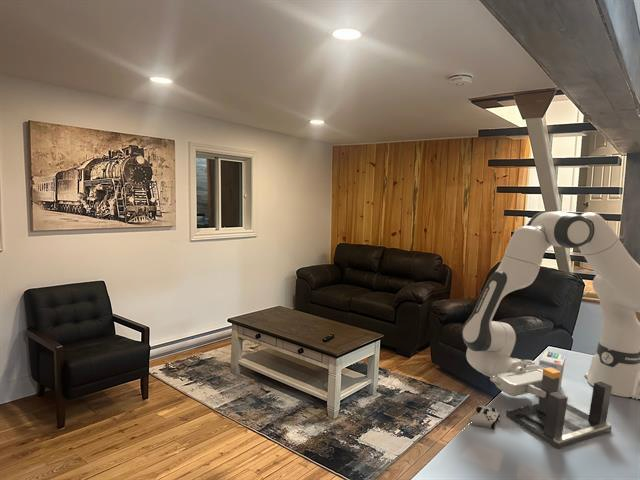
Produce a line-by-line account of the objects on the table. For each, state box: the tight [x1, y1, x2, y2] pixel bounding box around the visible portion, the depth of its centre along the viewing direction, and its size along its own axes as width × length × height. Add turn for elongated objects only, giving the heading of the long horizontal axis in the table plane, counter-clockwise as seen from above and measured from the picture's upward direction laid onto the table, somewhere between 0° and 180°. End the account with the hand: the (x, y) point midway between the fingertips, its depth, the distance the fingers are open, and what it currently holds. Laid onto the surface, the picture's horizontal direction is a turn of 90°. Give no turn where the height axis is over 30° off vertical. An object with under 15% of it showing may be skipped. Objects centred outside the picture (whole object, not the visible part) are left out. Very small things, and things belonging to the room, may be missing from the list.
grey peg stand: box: [505, 382, 613, 450], centre depth 119 cm, size 22×16×12 cm
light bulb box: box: [538, 350, 566, 393], centre depth 141 cm, size 11×7×11 cm, turn 146°
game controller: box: [468, 405, 501, 430], centre depth 119 cm, size 10×5×6 cm
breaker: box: [538, 367, 561, 414], centre depth 122 cm, size 3×3×12 cm
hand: (551, 393), depth 121 cm, fingers closed on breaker, 3 cm apart
